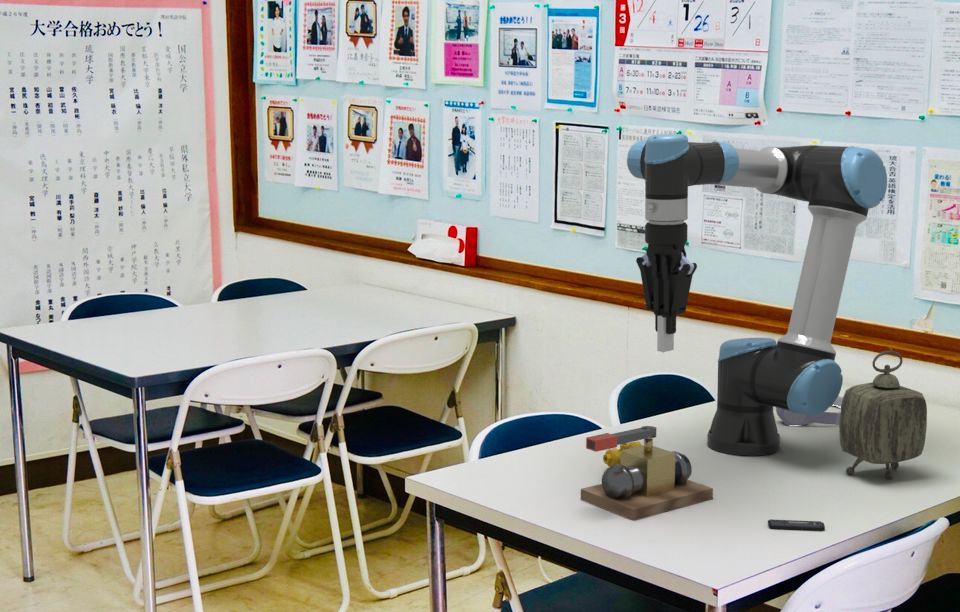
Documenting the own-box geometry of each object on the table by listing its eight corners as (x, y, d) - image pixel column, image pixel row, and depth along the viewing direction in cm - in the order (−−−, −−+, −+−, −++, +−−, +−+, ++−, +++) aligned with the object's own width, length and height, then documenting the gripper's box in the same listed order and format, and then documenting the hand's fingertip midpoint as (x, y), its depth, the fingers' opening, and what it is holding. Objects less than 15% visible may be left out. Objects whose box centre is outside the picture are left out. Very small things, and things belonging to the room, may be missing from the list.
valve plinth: (658, 479, 237) (658, 469, 237) (712, 498, 226) (713, 488, 226) (580, 499, 225) (580, 488, 225) (633, 520, 214) (633, 509, 214)
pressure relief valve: (596, 466, 244) (638, 460, 249) (630, 493, 234) (673, 486, 239) (600, 441, 242) (642, 435, 247) (634, 467, 232) (677, 460, 237)
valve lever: (648, 434, 225) (648, 423, 225) (659, 437, 223) (659, 427, 223) (585, 448, 216) (585, 437, 216) (596, 451, 214) (596, 440, 214)
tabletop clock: (896, 466, 246) (904, 344, 242) (927, 479, 238) (936, 353, 234) (836, 473, 241) (843, 349, 237) (866, 487, 233) (874, 358, 229)
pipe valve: (668, 478, 233) (669, 426, 232) (695, 488, 228) (697, 435, 226) (597, 496, 223) (598, 442, 221) (624, 506, 217) (625, 451, 216)
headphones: (774, 426, 276) (865, 435, 273) (778, 395, 275) (869, 405, 272) (766, 402, 298) (851, 410, 295) (770, 373, 297) (855, 382, 294)
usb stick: (768, 531, 210) (769, 522, 210) (766, 526, 213) (767, 517, 213) (825, 533, 209) (825, 525, 209) (822, 528, 212) (823, 520, 212)
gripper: (625, 220, 222) (625, 347, 226) (678, 226, 212) (677, 359, 216) (654, 216, 226) (654, 341, 231) (708, 222, 216) (706, 353, 221)
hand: (665, 350), depth 223 cm, fingers closed
